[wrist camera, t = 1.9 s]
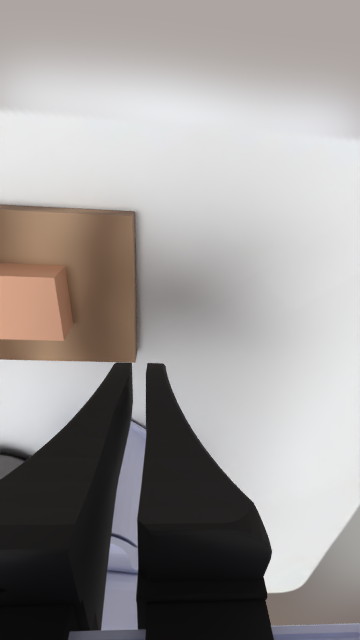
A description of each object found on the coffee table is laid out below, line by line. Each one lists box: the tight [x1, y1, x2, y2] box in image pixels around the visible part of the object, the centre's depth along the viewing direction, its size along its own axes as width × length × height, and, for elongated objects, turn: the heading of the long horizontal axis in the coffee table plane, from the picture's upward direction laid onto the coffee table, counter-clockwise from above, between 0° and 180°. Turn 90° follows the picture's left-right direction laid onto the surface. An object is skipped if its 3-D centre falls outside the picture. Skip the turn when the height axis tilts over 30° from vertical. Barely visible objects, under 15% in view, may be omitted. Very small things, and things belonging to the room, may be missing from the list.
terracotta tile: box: [0, 263, 73, 341], centre depth 18 cm, size 4×4×2 cm
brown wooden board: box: [0, 205, 137, 362], centre depth 19 cm, size 16×10×2 cm, turn 87°
